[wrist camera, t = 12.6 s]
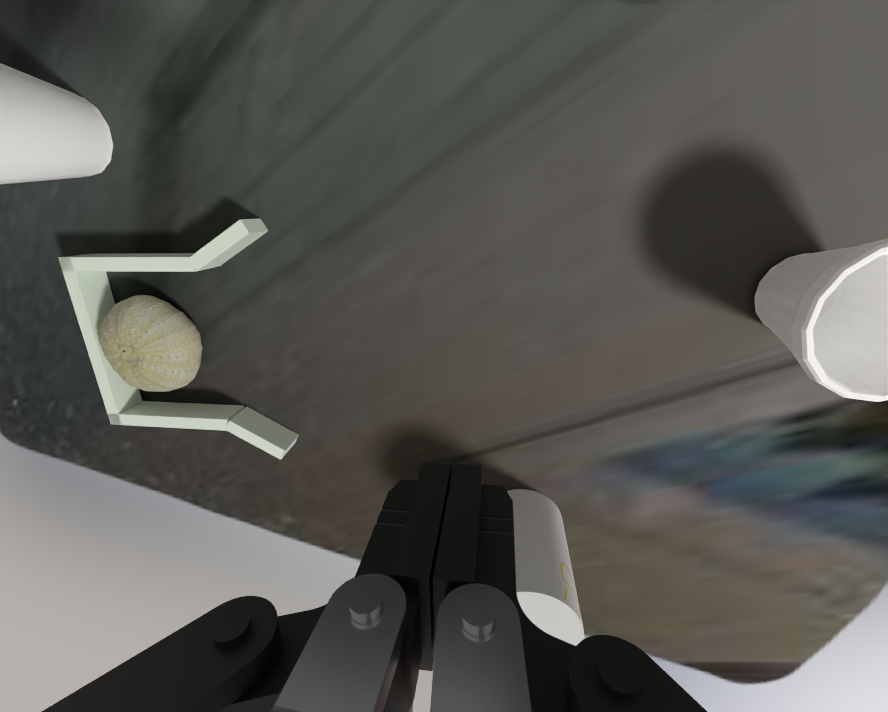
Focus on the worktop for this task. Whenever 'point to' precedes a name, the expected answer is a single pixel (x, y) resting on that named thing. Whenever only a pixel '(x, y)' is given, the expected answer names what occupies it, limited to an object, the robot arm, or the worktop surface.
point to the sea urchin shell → (150, 344)
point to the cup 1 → (544, 567)
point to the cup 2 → (833, 316)
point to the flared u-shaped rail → (125, 400)
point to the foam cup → (48, 131)
